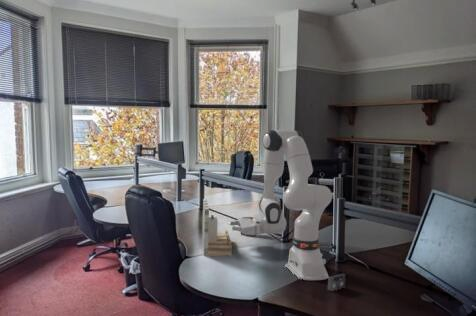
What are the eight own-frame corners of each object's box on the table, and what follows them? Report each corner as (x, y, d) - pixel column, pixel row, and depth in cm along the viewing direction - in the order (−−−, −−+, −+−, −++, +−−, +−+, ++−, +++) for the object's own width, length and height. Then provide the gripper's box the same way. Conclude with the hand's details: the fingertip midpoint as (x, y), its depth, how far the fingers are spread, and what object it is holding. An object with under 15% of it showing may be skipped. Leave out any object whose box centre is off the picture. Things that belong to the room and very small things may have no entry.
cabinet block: (216, 241, 196) (217, 216, 194) (207, 241, 195) (208, 216, 194) (216, 238, 201) (216, 214, 199) (207, 238, 200) (207, 214, 199)
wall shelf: (231, 255, 188) (232, 209, 185) (203, 255, 186) (204, 209, 183) (226, 240, 211) (227, 199, 209) (202, 240, 209) (203, 199, 207)
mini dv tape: (342, 286, 155) (343, 273, 154) (344, 288, 154) (345, 274, 153) (327, 290, 151) (328, 276, 150) (329, 292, 150) (330, 277, 149)
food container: (260, 233, 225) (261, 217, 224) (258, 236, 220) (259, 220, 219) (241, 231, 229) (241, 215, 228) (238, 234, 223) (239, 218, 222)
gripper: (253, 215, 210) (229, 215, 208) (260, 225, 190) (233, 225, 188) (253, 225, 211) (229, 226, 209) (259, 236, 190) (233, 237, 189)
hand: (231, 225), depth 198 cm, fingers open, 8 cm apart
